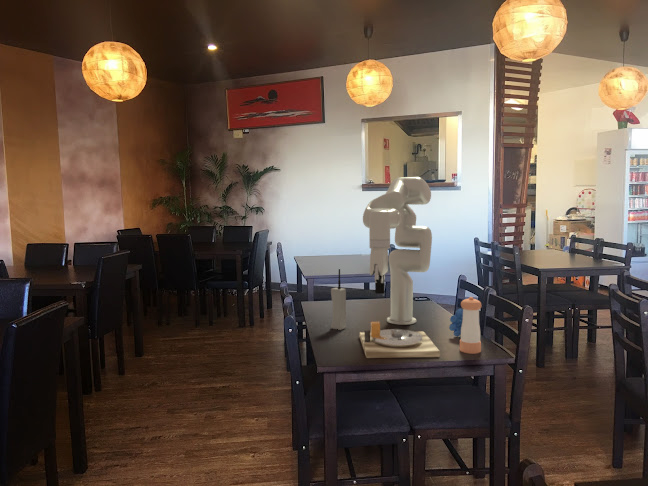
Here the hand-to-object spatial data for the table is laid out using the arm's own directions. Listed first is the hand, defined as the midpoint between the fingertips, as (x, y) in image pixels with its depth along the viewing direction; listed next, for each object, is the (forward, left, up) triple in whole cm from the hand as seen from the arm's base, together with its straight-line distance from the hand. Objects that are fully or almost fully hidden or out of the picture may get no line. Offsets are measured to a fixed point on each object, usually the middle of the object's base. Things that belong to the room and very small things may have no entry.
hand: (380, 293), depth 187 cm
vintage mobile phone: (-21, -14, -19) cm, 32 cm away
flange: (+5, +5, -16) cm, 18 cm away
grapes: (-7, +34, -19) cm, 39 cm away
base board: (+5, +6, -19) cm, 20 cm away
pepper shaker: (+11, +31, -19) cm, 38 cm away
